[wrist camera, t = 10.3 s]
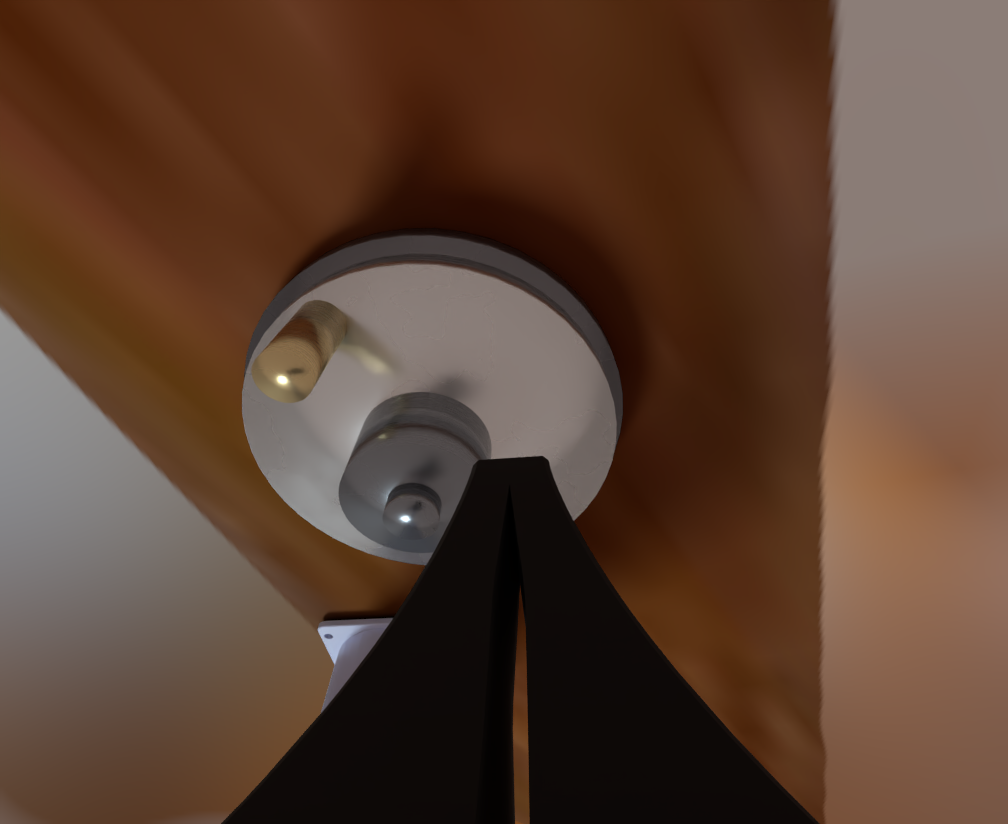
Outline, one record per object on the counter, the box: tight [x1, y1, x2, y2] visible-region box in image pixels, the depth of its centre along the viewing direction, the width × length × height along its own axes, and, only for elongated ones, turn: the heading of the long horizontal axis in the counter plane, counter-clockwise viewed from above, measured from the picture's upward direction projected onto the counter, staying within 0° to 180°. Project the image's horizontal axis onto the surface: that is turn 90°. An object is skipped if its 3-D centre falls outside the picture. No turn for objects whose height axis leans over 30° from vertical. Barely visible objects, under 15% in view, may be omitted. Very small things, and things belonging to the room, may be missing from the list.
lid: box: [339, 392, 492, 553], centre depth 18 cm, size 5×5×4 cm
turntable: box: [242, 254, 617, 565], centre depth 18 cm, size 14×14×5 cm
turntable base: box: [244, 228, 623, 451], centre depth 21 cm, size 15×15×1 cm
